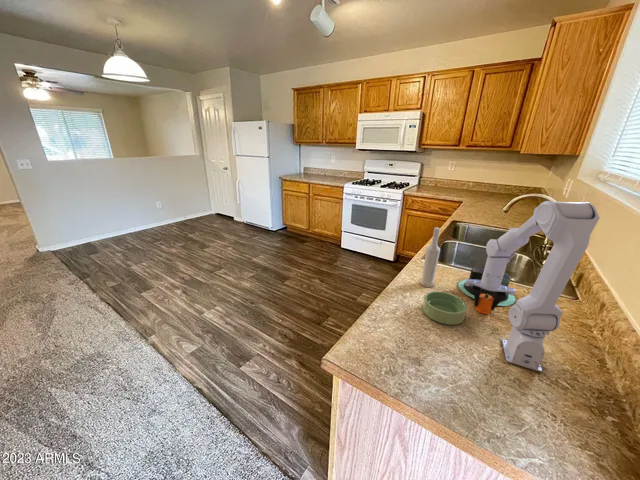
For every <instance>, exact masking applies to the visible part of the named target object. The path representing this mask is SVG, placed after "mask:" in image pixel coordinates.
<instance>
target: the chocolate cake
mask: <svg viewBox="0 0 640 480" xmlns="http://www.w3.org/2000/svg"><path fill="white" fill-rule="evenodd" d="M484 268H485V266H474V267H472V268H471V270H470V274H469V278H468V279H473V280H482V276H483V272H484ZM511 278H512V276H510V275H509V274H508V273H506V271H505V272H504V275H503V279H502V282H501V285H504V286H507V287H510V286H509V285H510V282H511ZM457 287H458V288H459V290H460V291H461V292H462V293H463V294H465V295H466V296H468V297H470V298H472V299H474V300H475V297H474V293H473V288H472V286H466V279H462V280H460V281H459V282H458V284H457ZM480 289H481V290H480V291H481V294H489V295H490V296H492V297H493V298H494V294H495V291H490V290H486V289H483V288H480ZM515 303H516V296H515V295H514V296H511V295H510V294H506V298H505V299H504V300H502V301H501V302H500V303H499V304H498V305H497V306H500V307H501V306H502V307H507V306H512V305H514V304H515Z"/></svg>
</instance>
